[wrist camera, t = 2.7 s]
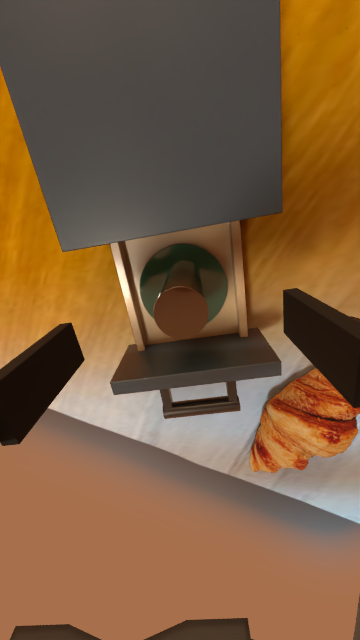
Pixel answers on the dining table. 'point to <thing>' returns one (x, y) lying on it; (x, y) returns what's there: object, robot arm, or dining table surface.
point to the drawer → (197, 351)
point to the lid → (183, 289)
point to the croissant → (303, 425)
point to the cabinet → (147, 112)
